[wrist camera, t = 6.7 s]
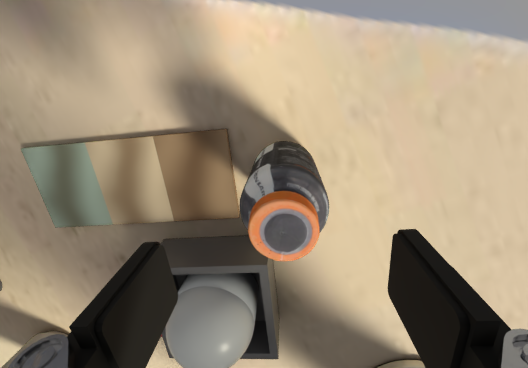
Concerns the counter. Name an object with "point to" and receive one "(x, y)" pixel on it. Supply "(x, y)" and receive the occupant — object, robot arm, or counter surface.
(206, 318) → the dome
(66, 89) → the counter surface
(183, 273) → the box
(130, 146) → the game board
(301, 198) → the pill bottle
